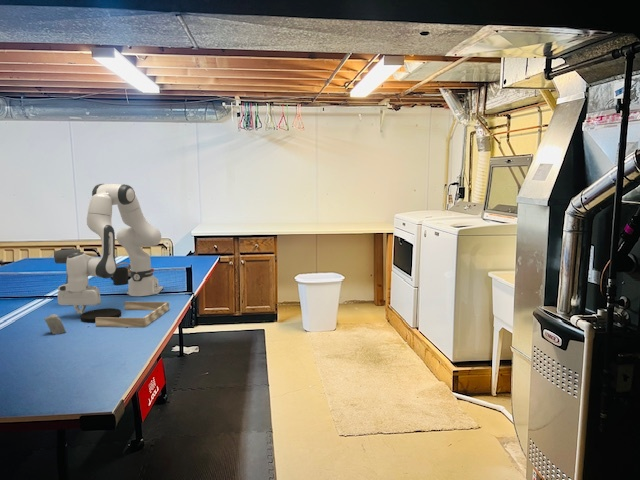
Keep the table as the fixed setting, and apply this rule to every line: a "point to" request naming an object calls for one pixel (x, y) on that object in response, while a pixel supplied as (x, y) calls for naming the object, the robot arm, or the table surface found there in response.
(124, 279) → the pen holder
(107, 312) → the wireless charger
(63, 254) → the rubber mallet
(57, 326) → the mineral specimen
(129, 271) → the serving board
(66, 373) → the table surface
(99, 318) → the box
